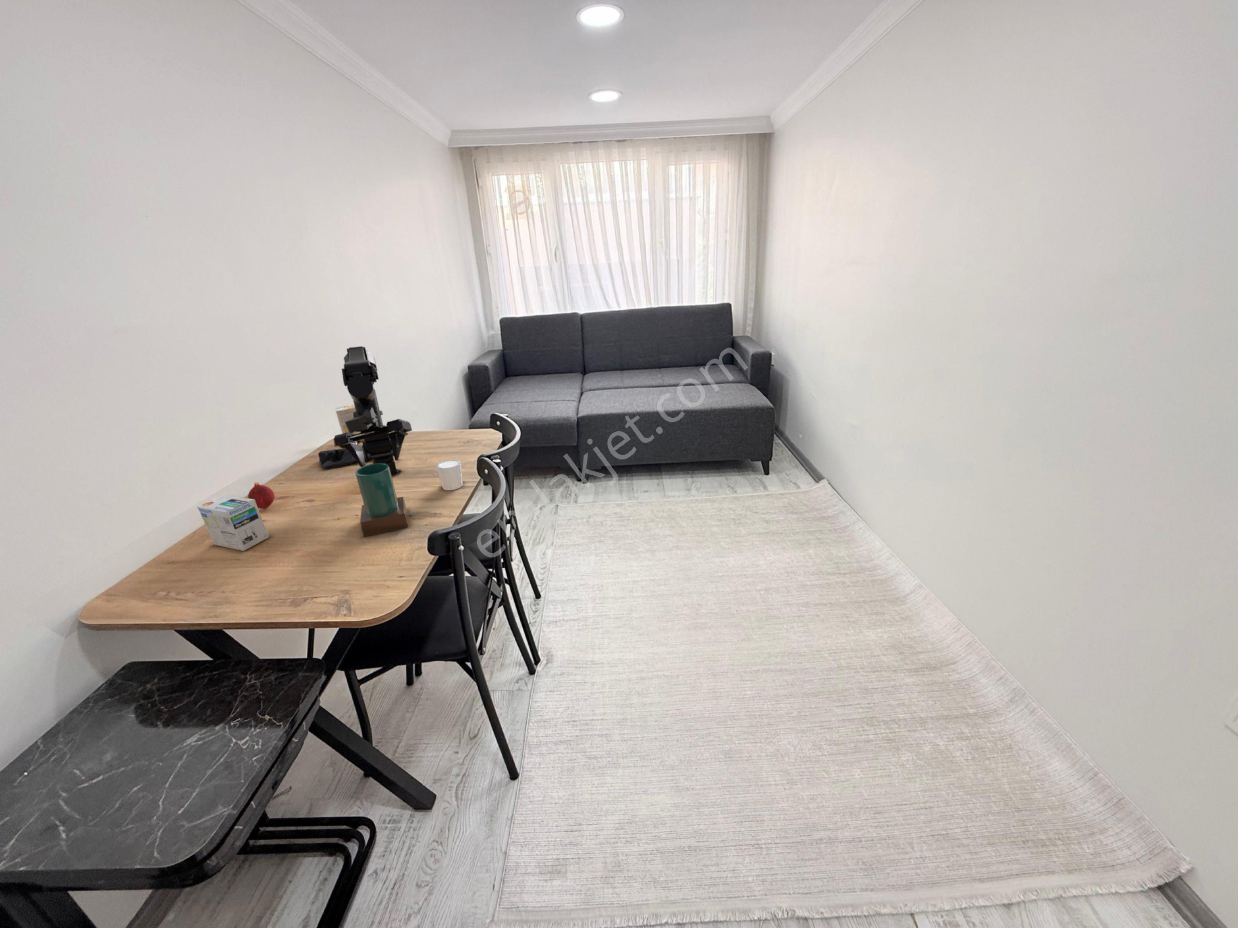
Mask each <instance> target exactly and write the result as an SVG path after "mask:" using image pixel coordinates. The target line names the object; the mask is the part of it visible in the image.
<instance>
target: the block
mask: <svg viewBox="0 0 1238 928" xmlns="http://www.w3.org/2000/svg"><path fill="white" fill-rule="evenodd" d="M397 501H398V508H397V509H396V510H395V511H393V512H391V513H389V514H386V515H382V516H369V515H368V514H367V513H366V510H365V506H364V504H362V505H361V510H360V520H359V524H360V529H361V531H362V534H363V538H367V537H370V536H375V535H379V534H384V533H388V532H391V531H398V530H401V529H406V528H409V522H408V510H407V505H406V501H405V497H404V496H400V497H397Z"/></svg>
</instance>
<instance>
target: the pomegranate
mask: <svg viewBox="0 0 1238 928" xmlns="http://www.w3.org/2000/svg"><path fill="white" fill-rule="evenodd" d="M247 498H249V499H255V502H256V504H257V507H258V509H262V510H266V509H268V508H269V507H270V506H271V505H272V504H273V503H274V500H275V492H274V491H273V489H272V488H270V487H269V486H267V485H265V484H260V483H259V482H258V481H254V484H253V487H252V488H250V490H249V492H248V494H247Z"/></svg>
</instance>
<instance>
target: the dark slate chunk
mask: <svg viewBox="0 0 1238 928" xmlns="http://www.w3.org/2000/svg"><path fill="white" fill-rule="evenodd" d="M362 448H363V445H362ZM317 454H318V458H319V463H320V468H321V469H327V470H328V469H330V468H334V467H338V468H339V467H343V466H348V465H352V464H358V463H357V461H356V460H355V458H354V457H353V455H352V454H351V453H350V452H349V451H348V450H347V449H344V448H336V449H335V448H334V449H327V450H320V451H319V452H318V453H317ZM363 454H364V460H365V462H366V461H367V459H366V455H365V452H364V449H363Z"/></svg>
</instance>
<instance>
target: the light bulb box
mask: <svg viewBox="0 0 1238 928" xmlns="http://www.w3.org/2000/svg"><path fill="white" fill-rule="evenodd" d="M196 508H197V509H198V512H199V514H200V516H201V518H202V520H203V523H204V525H205V527H206V529H207V530H206V531H208V534H209V536H210V538H211V541H212V543H213V545H214V546H220V547H224V548H227V549H232V550H237V551H242V552H245V551H246V550H249V549H250V548H252V547H253V546H255V545H257V544H259V543H261V542H263V541H265V540H267V539H268V538H270V535H269V533H268V530H267V528H266V526H265V523H264V520H263V518H262V515H261V512H260V509H259V508H258V507H257V504H256V502H255V499H249V498H248V497H240V496H233V495H228V494H223V495H221V496H217V497H215V498H212V499H211V500H209V501H206V502H204V503H201V504H199V505H197V507H196Z"/></svg>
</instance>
